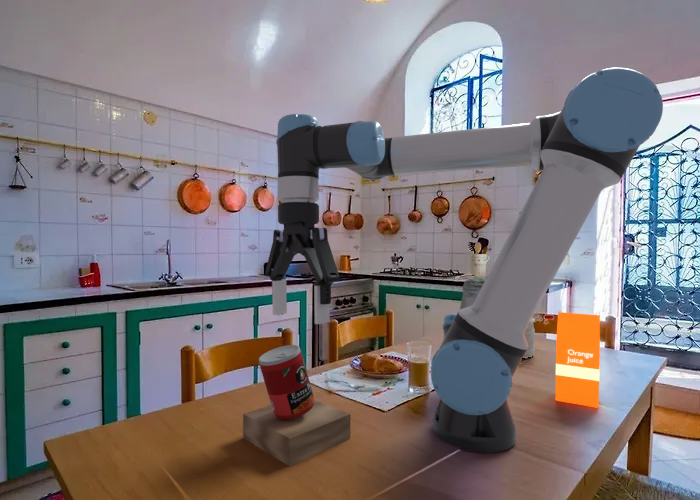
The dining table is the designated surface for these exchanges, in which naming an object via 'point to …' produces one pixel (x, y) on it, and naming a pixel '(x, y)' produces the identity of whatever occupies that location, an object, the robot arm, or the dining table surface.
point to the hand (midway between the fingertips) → (299, 318)
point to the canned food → (287, 381)
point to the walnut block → (296, 432)
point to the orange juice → (578, 359)
